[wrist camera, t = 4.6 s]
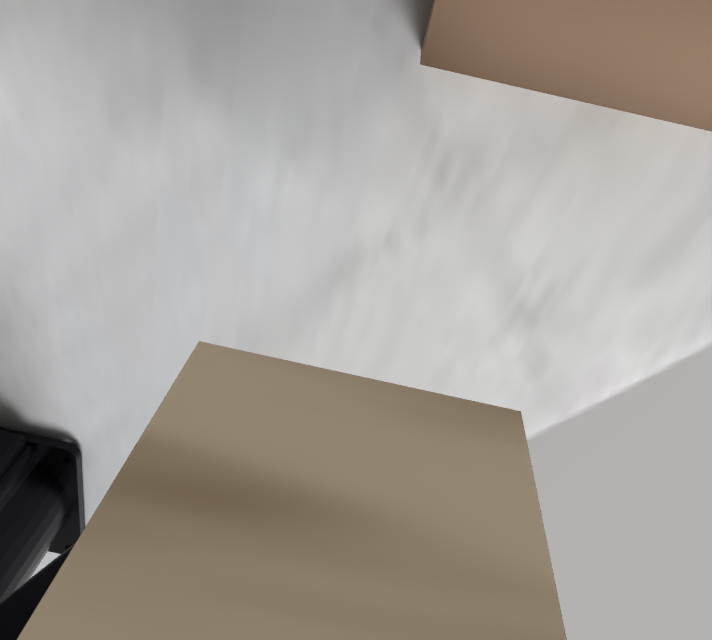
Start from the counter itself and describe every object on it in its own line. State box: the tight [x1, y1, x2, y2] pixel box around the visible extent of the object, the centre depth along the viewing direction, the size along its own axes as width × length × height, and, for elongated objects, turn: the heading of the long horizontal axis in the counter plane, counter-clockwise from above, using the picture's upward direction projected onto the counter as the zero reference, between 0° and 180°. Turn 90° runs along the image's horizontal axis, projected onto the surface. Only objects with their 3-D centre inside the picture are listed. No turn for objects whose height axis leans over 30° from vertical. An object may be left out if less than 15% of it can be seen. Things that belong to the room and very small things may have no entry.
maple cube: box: [17, 341, 567, 640], centre depth 9 cm, size 5×5×5 cm
